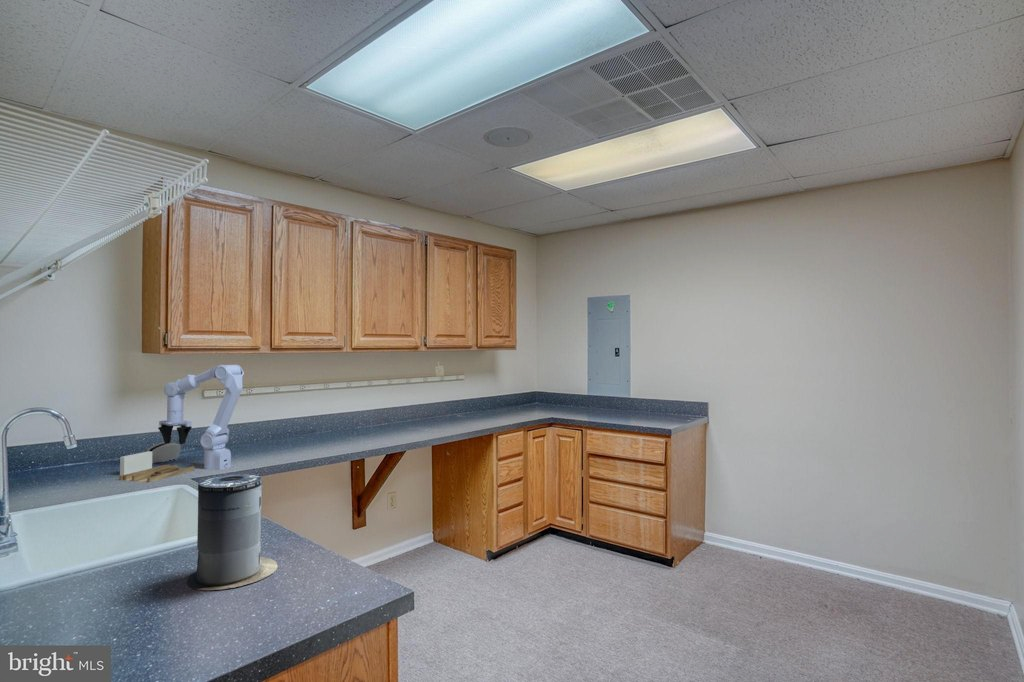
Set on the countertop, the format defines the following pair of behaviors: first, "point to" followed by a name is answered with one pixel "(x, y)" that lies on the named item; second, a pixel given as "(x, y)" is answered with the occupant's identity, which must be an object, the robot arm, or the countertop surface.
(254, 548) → the trash can
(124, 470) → the white rectangular block
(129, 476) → the rack
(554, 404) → the countertop surface
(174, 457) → the grey curved slab
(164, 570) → the countertop surface
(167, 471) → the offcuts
